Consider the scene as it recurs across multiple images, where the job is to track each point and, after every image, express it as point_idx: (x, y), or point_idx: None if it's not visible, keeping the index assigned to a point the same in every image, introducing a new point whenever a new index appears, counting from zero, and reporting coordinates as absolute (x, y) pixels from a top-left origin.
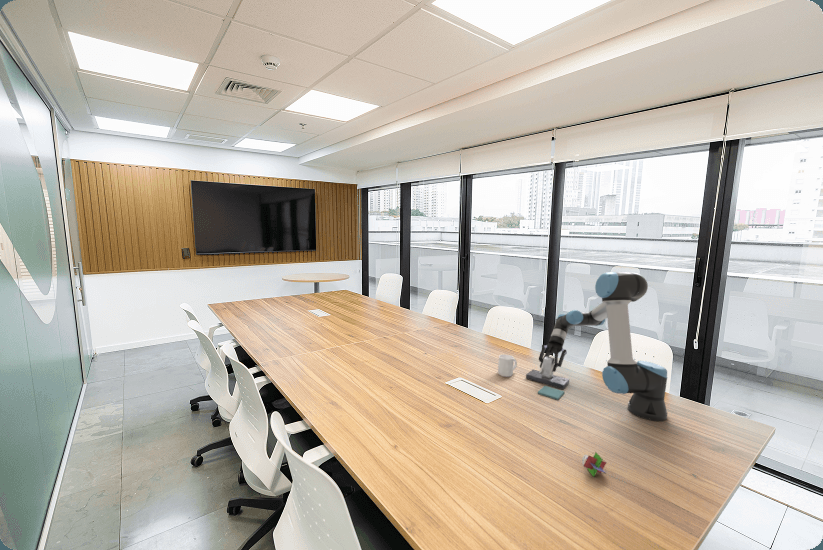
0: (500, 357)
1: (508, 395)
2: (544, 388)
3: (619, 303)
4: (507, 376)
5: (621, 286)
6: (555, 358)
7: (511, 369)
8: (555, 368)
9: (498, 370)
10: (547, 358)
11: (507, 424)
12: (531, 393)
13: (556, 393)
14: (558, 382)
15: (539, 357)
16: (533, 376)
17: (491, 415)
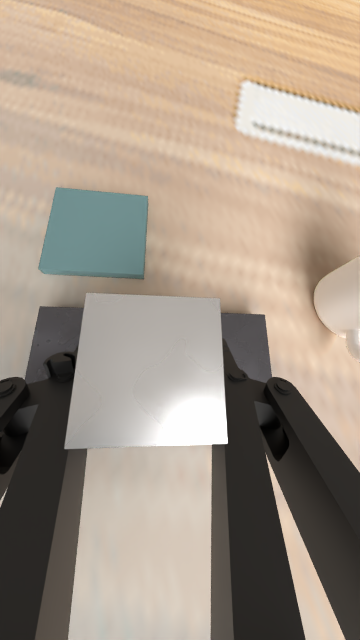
0: None
1: (224, 142)
2: (133, 243)
3: None
4: (319, 281)
5: None
6: (47, 467)
7: (344, 279)
8: (76, 348)
9: None
10: (169, 333)
11: (151, 24)
12: (168, 194)
13: (71, 225)
14: (75, 322)
15: (300, 404)
16: (222, 313)
17: (200, 40)
